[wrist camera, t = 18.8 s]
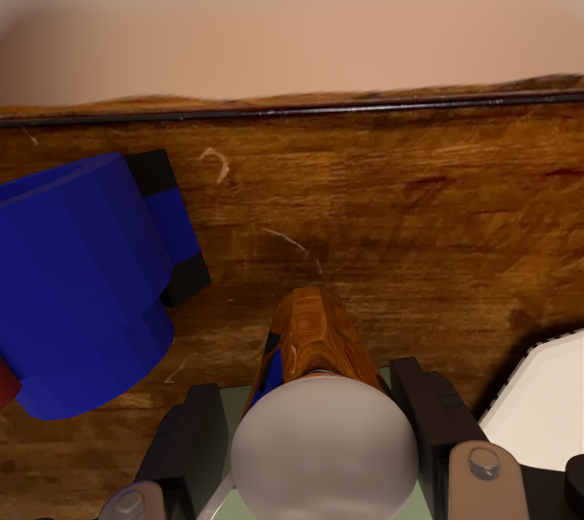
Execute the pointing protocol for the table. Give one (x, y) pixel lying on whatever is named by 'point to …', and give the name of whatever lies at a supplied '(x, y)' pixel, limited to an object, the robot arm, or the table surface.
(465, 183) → the table surface
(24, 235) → the alarm clock
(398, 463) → the milkshake
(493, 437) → the plate
